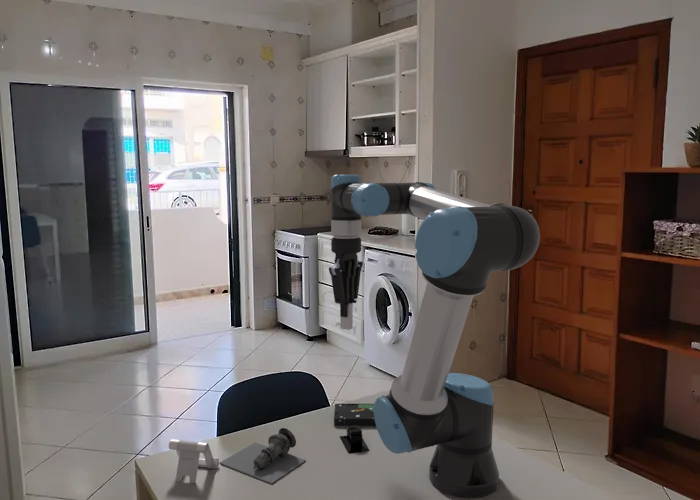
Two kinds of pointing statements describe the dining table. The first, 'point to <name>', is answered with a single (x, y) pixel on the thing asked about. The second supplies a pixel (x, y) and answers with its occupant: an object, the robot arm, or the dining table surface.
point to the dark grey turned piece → (275, 448)
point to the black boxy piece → (354, 440)
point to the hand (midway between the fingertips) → (346, 328)
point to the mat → (271, 471)
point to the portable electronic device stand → (192, 458)
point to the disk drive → (354, 415)
